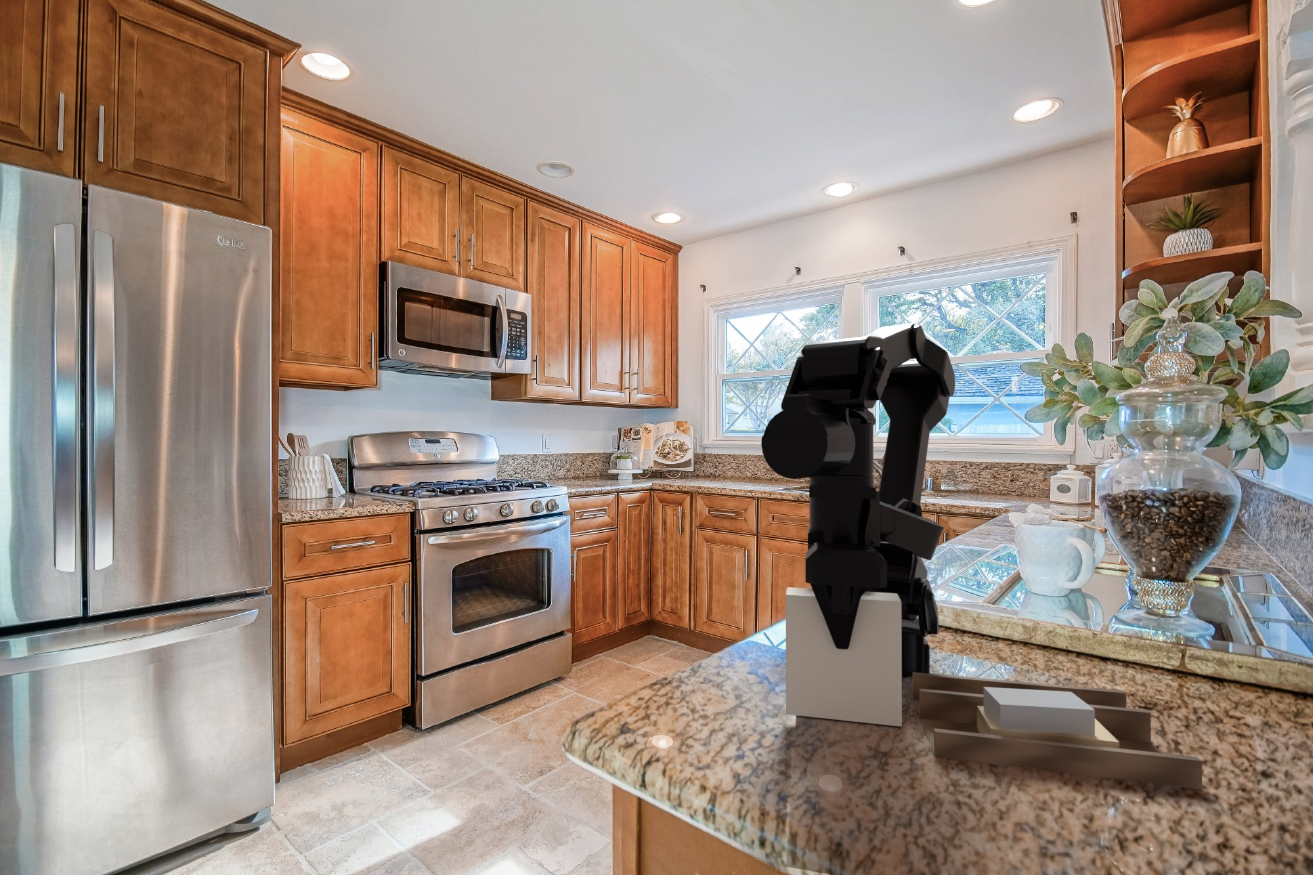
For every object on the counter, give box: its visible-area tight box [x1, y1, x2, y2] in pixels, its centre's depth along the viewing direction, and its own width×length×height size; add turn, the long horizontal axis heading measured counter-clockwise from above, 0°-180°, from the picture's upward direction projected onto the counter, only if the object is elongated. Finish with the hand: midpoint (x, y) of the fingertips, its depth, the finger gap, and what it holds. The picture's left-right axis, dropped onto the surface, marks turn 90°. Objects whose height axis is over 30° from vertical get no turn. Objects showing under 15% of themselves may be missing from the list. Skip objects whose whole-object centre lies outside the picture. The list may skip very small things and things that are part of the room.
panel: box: [785, 586, 903, 727], centre depth 57 cm, size 10×3×11 cm, turn 76°
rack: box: [909, 672, 1203, 790], centre depth 54 cm, size 18×14×4 cm
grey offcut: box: [984, 687, 1095, 735], centre depth 51 cm, size 7×4×2 cm, turn 82°
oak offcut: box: [977, 706, 1119, 748], centre depth 51 cm, size 9×4×2 cm, turn 76°
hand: (841, 642), depth 57 cm, fingers closed on panel, 3 cm apart
